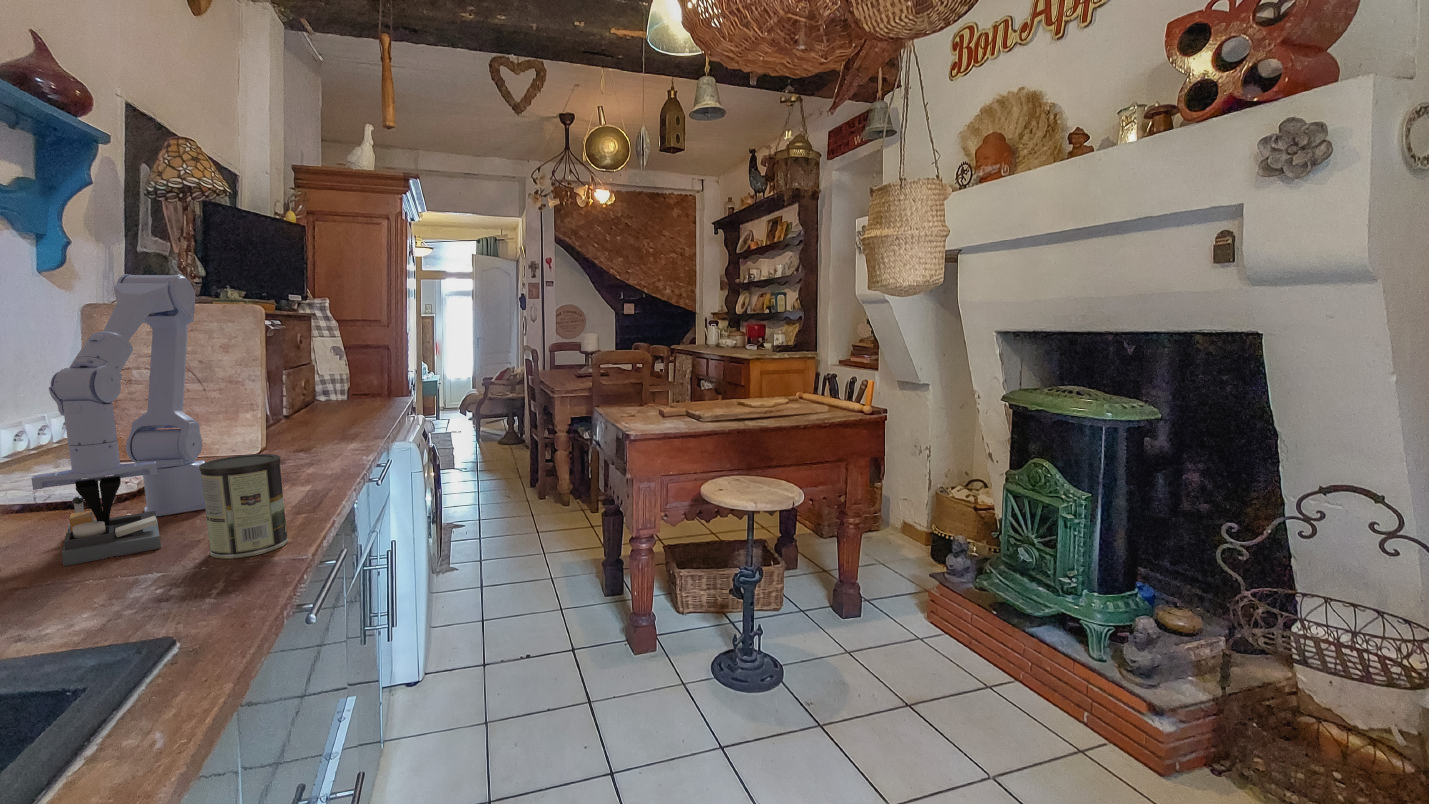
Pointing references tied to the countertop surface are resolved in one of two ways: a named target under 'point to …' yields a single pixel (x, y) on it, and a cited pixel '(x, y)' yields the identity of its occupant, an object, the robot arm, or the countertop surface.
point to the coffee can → (244, 505)
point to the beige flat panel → (136, 526)
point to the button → (89, 529)
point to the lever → (78, 504)
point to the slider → (80, 518)
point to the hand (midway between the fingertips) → (104, 524)
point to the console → (111, 541)
